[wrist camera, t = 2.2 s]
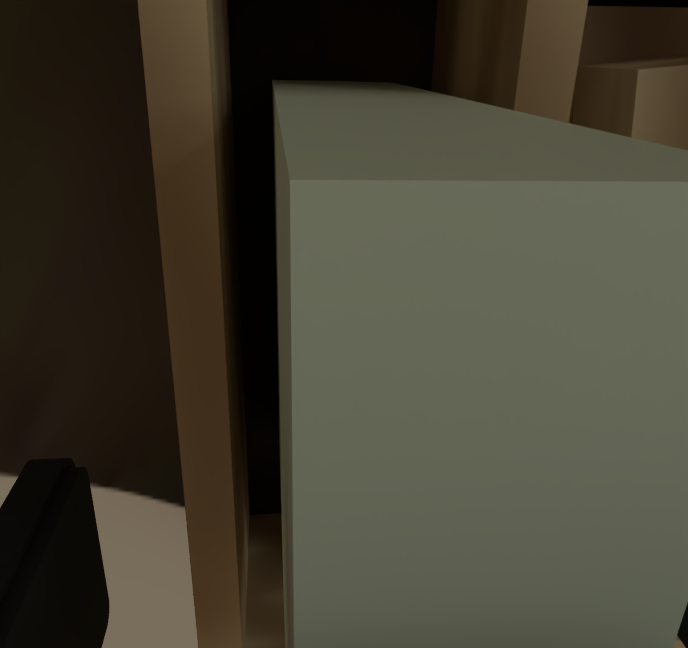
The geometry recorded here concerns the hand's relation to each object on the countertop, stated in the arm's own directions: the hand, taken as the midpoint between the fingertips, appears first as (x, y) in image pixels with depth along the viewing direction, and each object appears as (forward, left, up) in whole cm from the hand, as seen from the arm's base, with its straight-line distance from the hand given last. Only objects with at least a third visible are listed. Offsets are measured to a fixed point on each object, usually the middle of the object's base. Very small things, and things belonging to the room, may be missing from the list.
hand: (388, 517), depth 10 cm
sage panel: (0, 0, -12) cm, 12 cm away
